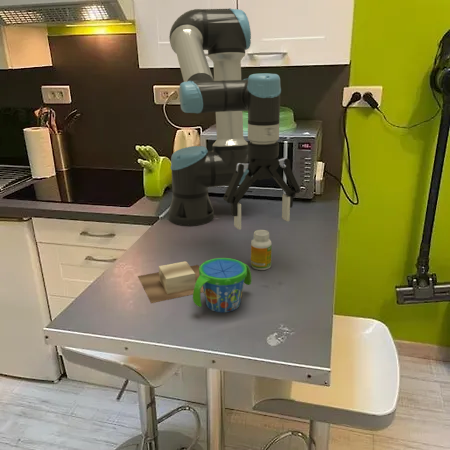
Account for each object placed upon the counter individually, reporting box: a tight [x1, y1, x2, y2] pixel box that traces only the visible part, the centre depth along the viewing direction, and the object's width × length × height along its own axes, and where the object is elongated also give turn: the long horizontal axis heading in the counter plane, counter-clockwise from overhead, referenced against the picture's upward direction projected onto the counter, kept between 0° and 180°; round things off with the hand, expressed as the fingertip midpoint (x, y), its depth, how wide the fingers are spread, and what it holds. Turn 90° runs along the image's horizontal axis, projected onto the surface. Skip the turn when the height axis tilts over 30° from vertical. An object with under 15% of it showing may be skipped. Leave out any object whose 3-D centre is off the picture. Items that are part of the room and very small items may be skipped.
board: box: [137, 264, 204, 304], centre depth 119 cm, size 14×16×1 cm
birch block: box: [158, 261, 195, 294], centre depth 117 cm, size 7×7×4 cm
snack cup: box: [192, 257, 252, 313], centre depth 108 cm, size 16×10×10 cm
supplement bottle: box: [250, 229, 273, 271], centre depth 127 cm, size 5×5×10 cm
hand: (262, 223), depth 124 cm, fingers open, 13 cm apart
